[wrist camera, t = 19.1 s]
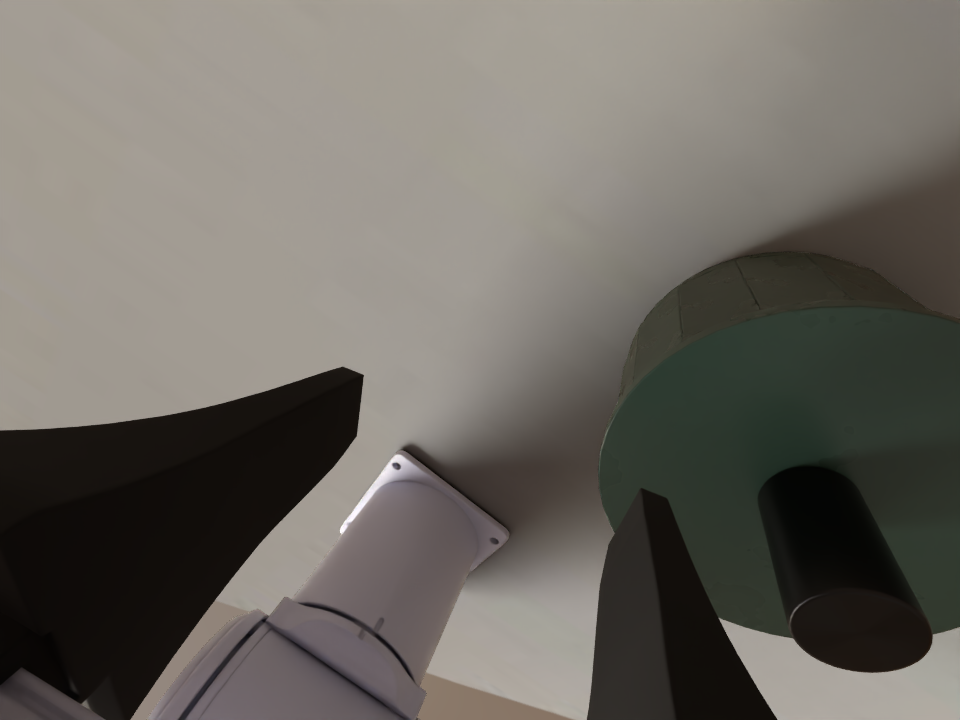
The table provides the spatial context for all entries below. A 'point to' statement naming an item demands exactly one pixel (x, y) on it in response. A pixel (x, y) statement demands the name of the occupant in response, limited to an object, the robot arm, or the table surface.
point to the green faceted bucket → (750, 298)
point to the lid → (808, 472)
